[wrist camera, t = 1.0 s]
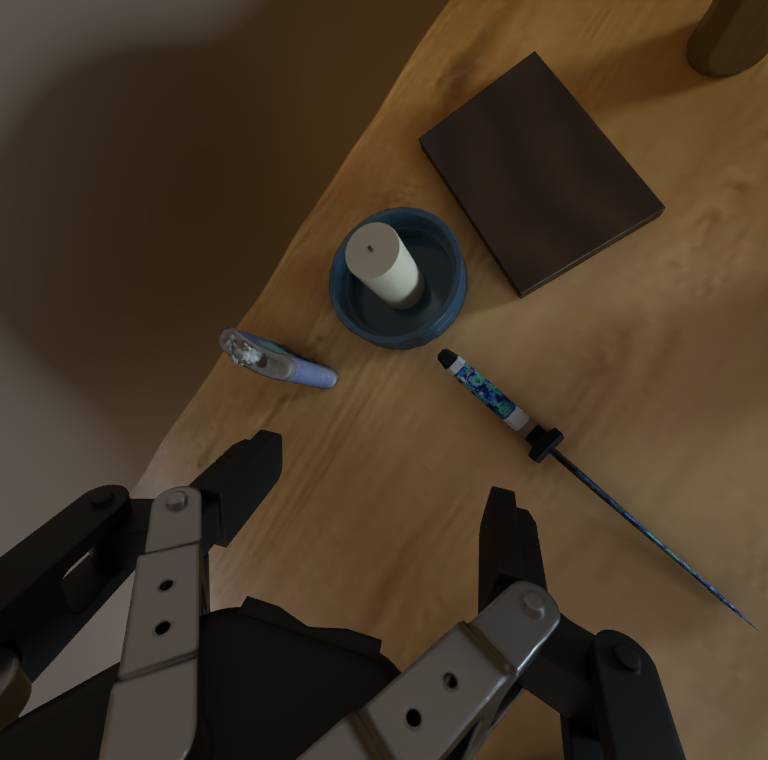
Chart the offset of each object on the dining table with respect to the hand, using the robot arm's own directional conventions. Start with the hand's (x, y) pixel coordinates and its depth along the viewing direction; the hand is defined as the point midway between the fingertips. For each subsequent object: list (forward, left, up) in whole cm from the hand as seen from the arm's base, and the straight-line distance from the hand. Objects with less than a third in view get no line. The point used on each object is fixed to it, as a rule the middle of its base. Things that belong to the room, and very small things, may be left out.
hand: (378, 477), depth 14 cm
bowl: (-2, -17, -23) cm, 29 cm away
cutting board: (-18, -19, -23) cm, 35 cm away
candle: (-2, -17, -23) cm, 29 cm away
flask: (+12, -15, -23) cm, 30 cm away
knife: (-7, +7, -23) cm, 26 cm away
